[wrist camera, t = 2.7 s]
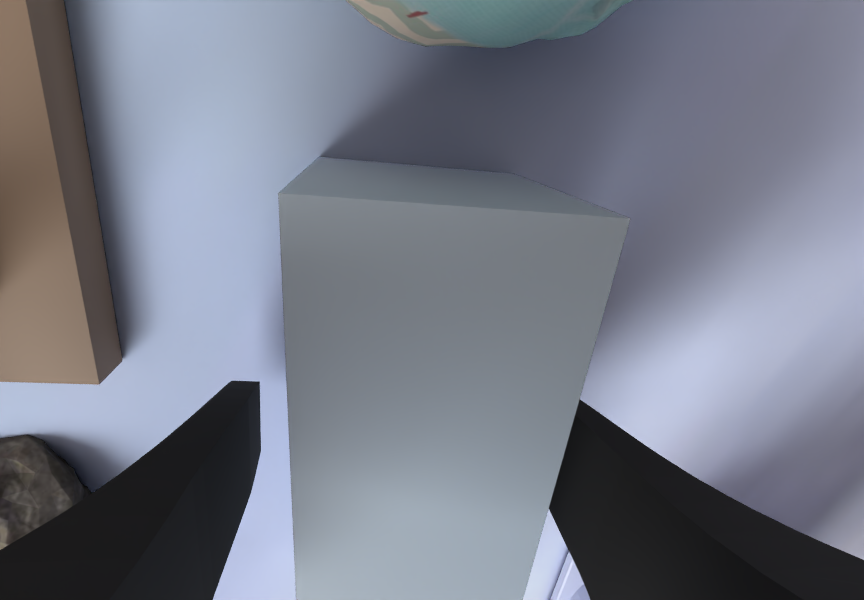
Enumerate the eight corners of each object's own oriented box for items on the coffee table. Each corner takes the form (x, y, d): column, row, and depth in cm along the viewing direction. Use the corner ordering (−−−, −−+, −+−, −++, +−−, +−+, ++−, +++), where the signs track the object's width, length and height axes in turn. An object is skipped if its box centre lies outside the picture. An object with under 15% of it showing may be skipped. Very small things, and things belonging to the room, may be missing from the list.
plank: (511, 172, 10) (630, 218, 6) (453, 524, 15) (492, 705, 10) (320, 156, 9) (277, 192, 5) (322, 532, 14) (301, 732, 9)
